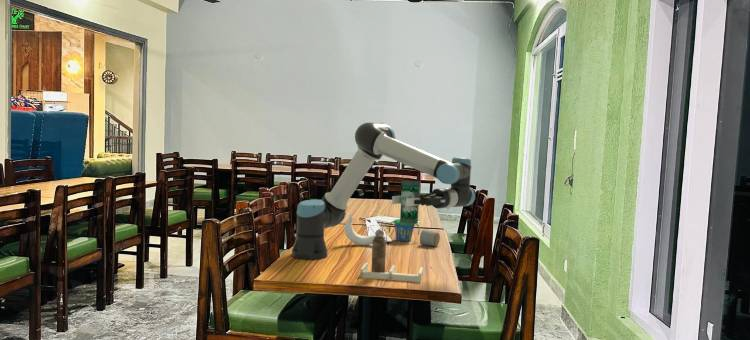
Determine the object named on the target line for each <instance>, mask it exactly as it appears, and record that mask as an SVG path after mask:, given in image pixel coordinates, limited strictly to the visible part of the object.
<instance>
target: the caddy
mask: <svg viewBox="0 0 750 340" xmlns="http://www.w3.org/2000/svg"><path fill="white" fill-rule="evenodd" d="M368 267H369V262H365V263H363V265H362V267H361V268H360V271H359V272H360V273H359V274H360V275H359V278H364V279H374V280H375V279H379V280H390V281H401V282H413V283H421V282H422V279H423V277H424V267H423V266H420V268H419V271H418V274H413V273H412V274H411V273H401V272H400V273H399V272H396V264H392V265H391V267H390V269H389V271H387V272H386V271H385V273H379V272H371V270H368V269H369V268H368Z"/></svg>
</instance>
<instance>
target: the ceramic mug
mask: <svg viewBox="0 0 750 340" xmlns="http://www.w3.org/2000/svg"><path fill="white" fill-rule="evenodd" d="M420 231H421V232H420V233H419V243H420V245H421V246H427V247H437V246H438V245H439V243H440V239H441V236H440V233H439V232H438V231H433V230H429V229H424V228H423V229H422V230H420Z"/></svg>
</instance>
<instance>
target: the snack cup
mask: <svg viewBox="0 0 750 340" xmlns="http://www.w3.org/2000/svg"><path fill="white" fill-rule="evenodd" d="M392 224H394V229H395V232H394V233H395V240H396V241H398V242H406V243H407V242H412V236H413V232H414V228H415V225H416V226H417V229H418V232H417V236H420V233H421V232H420V231H421V229H420V228H421V227H420V224H418V223H415V224H407V223H401V222H400V218H397V219H393V220H392V221H391V222H390V223H389V225H388V232H389V234H391V225H392Z"/></svg>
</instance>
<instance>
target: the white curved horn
mask: <svg viewBox="0 0 750 340" xmlns="http://www.w3.org/2000/svg"><path fill="white" fill-rule="evenodd" d="M348 219H349V220H348V222H346V223H345V225H344V227H343V228H344V234H345V236H346V238H347V239H348V240H349V241H350V242H351V243H353V244H355V245H358V246H369V245H372V242H373V239H374V236H376V235H375V234H374V235H361V234H358V233H357V232H356V231H355V229H354V227H353V220H354V217H352V215H351V214H350V215H349V217H348ZM383 237H385V235H384V236H383Z"/></svg>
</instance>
